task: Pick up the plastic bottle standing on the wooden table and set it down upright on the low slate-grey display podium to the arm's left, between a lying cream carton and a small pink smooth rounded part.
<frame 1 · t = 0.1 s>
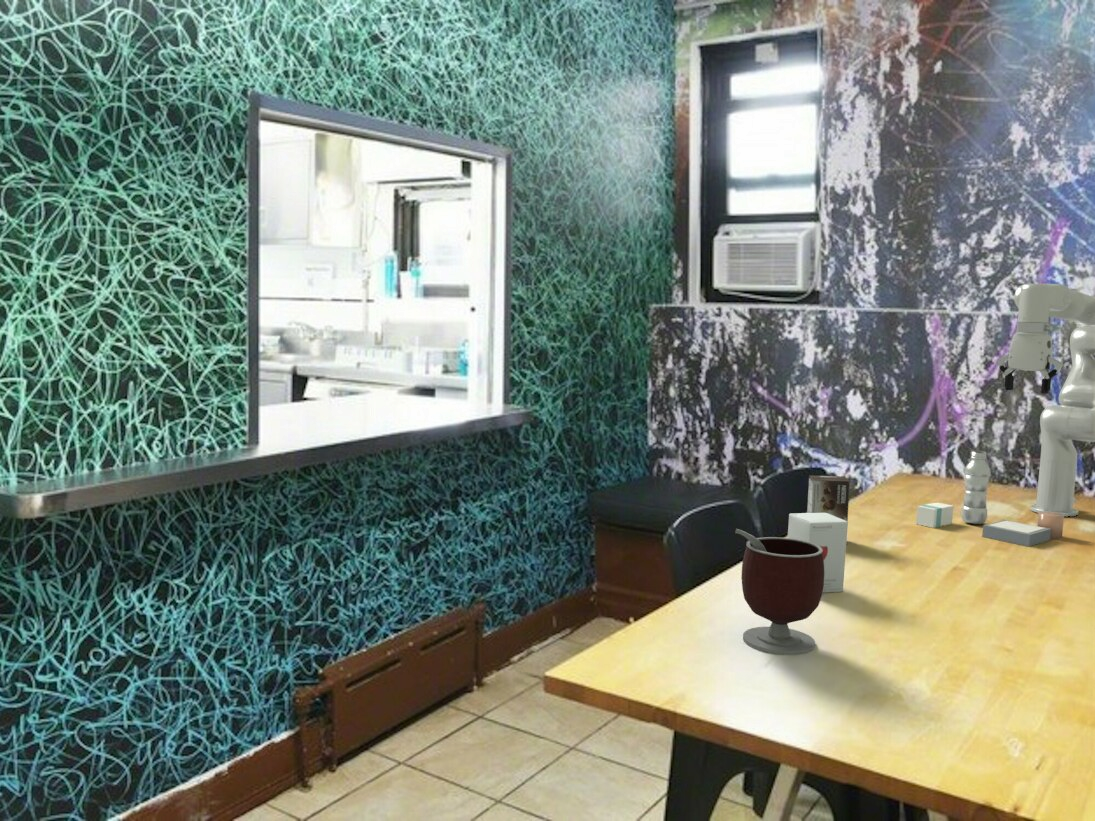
hand: (1026, 391, 267), 37 cm above the table, tool pointing down, fingers open, 9 cm apart
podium: (1016, 538, 252), on the table
pink smooth rounded part: (1049, 536, 255), on the table
coffee box: (825, 541, 243), on the table
lying carton: (934, 523, 266), on the table
supplement box: (813, 587, 203), on the table
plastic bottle: (973, 524, 268), on the table
mate gourd: (773, 643, 170), on the table
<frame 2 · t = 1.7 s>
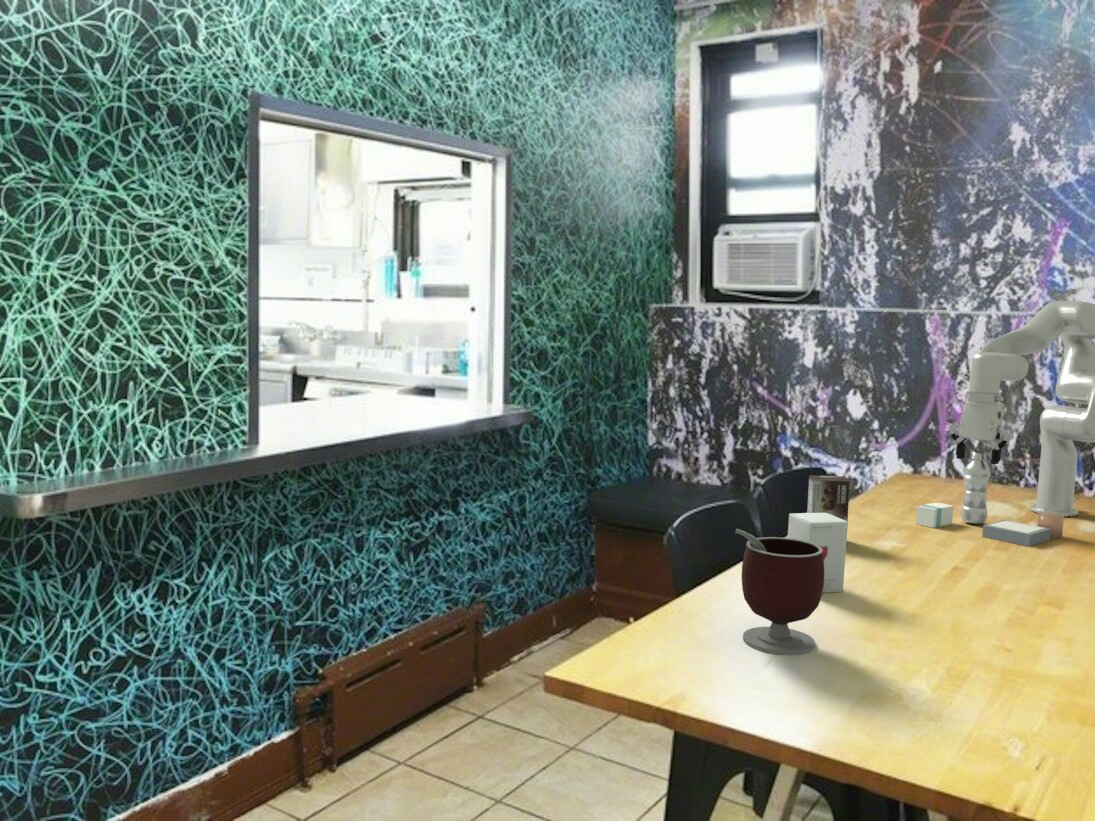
hand: (977, 461, 266), 18 cm above the table, tool pointing down, fingers open, 9 cm apart
nothing on the table moved.
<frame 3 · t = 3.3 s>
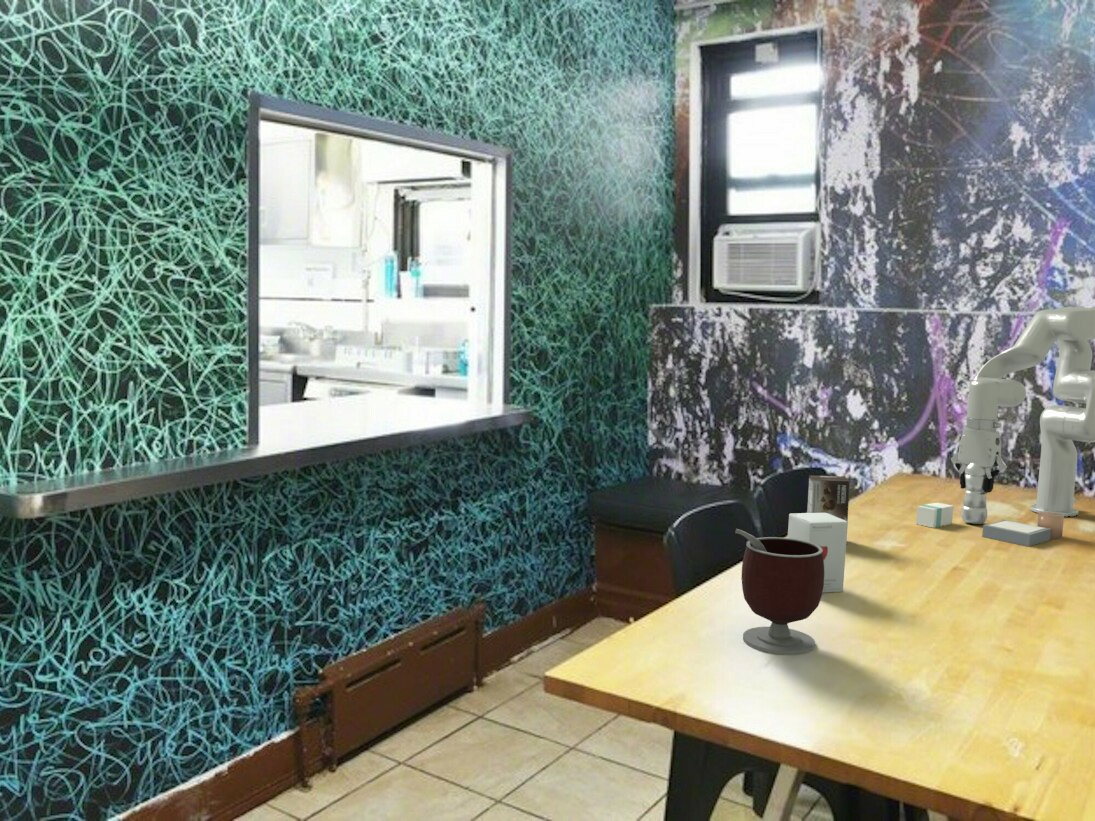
hand: (976, 489, 267), 10 cm above the table, tool pointing down, fingers closed on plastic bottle, 5 cm apart
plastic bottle: (973, 524, 268), on the table, touching gripper
everything else where it was.
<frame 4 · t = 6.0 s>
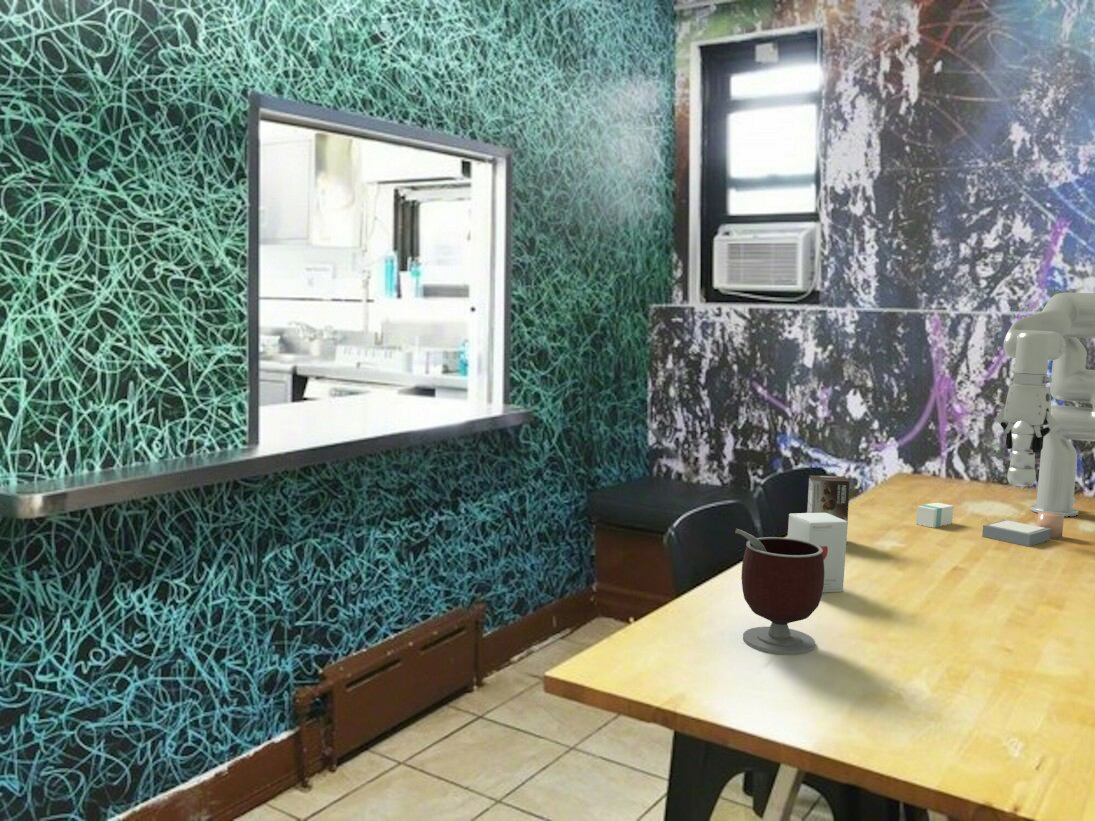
hand: (1023, 449, 250), 23 cm above the table, tool pointing down, fingers closed on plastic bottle, 5 cm apart
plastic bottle: (1020, 487, 251), point 14 cm above the table, touching gripper
everything else where it was.
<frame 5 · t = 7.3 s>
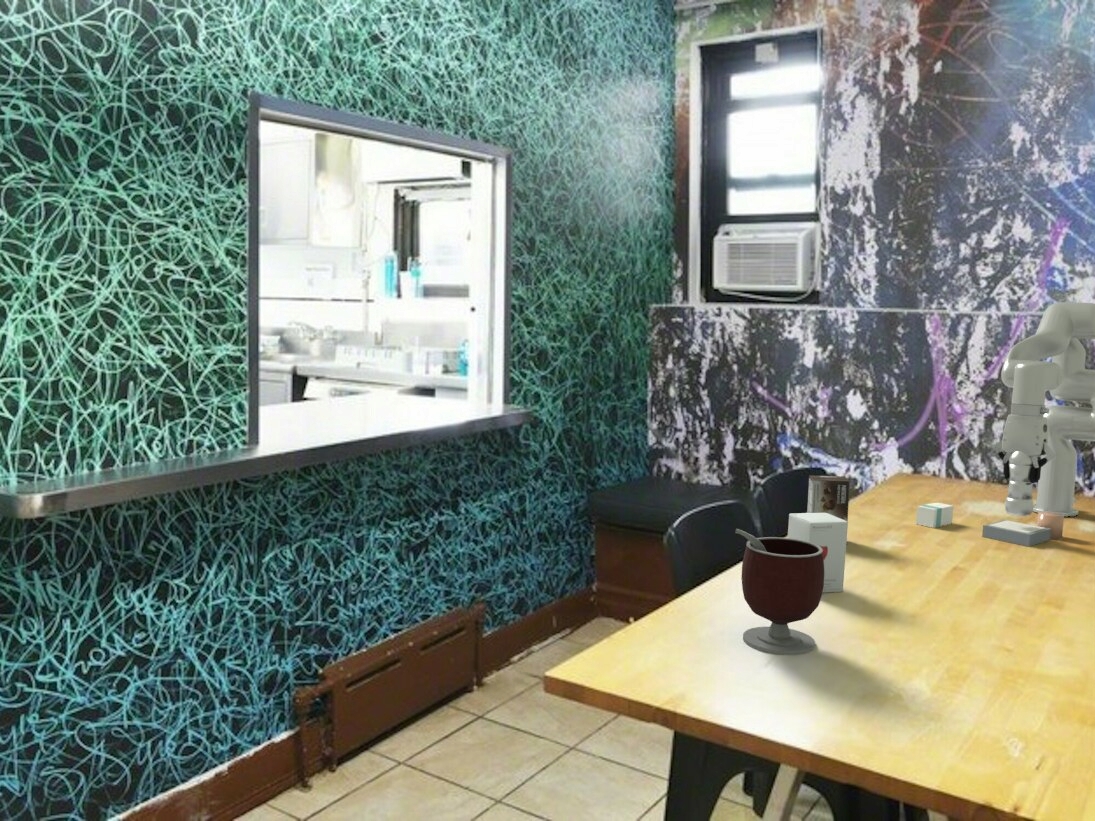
hand: (1021, 479, 250), 15 cm above the table, tool pointing down, fingers closed on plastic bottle, 5 cm apart
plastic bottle: (1017, 516, 251), point 6 cm above the table, touching gripper
everything else where it was.
when the fingers open (14 cm above the table, at t = 8.6 s): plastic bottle stays where it is, resting on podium.
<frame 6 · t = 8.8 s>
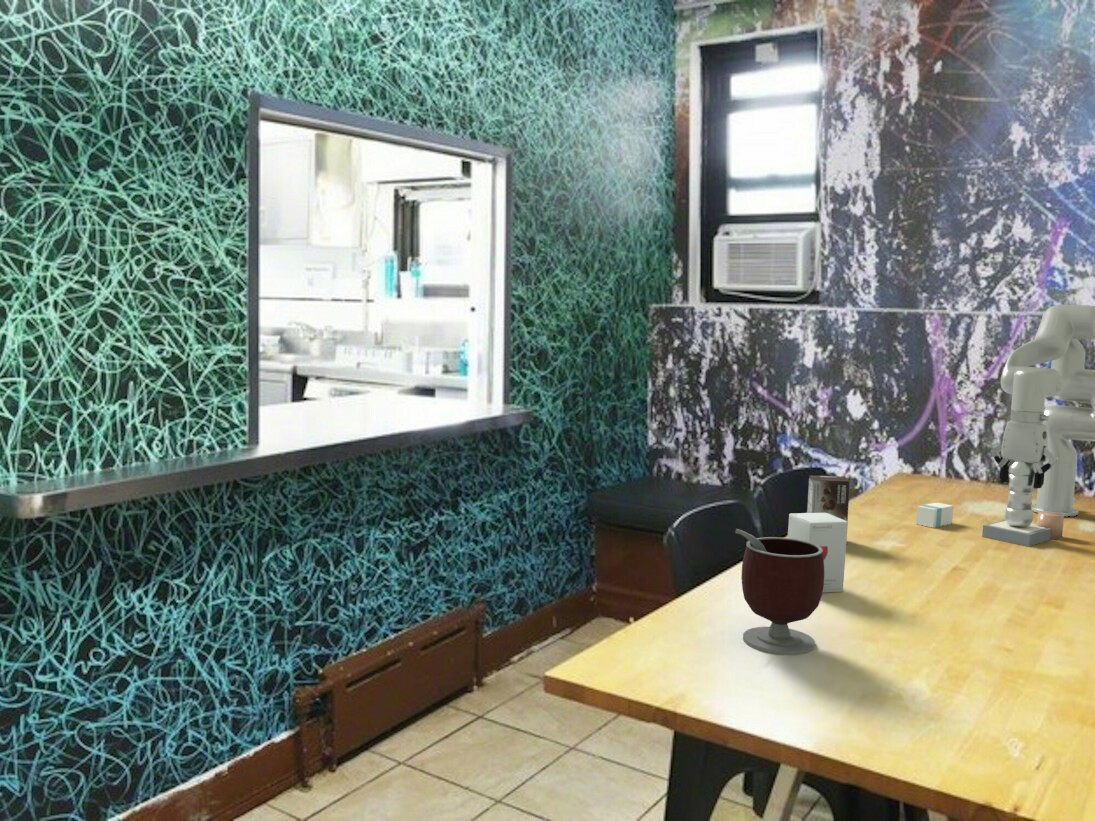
hand: (1020, 484, 250), 14 cm above the table, tool pointing down, fingers open, 8 cm apart
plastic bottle: (1017, 527, 252), point 3 cm above the table, touching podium
everything else where it was.
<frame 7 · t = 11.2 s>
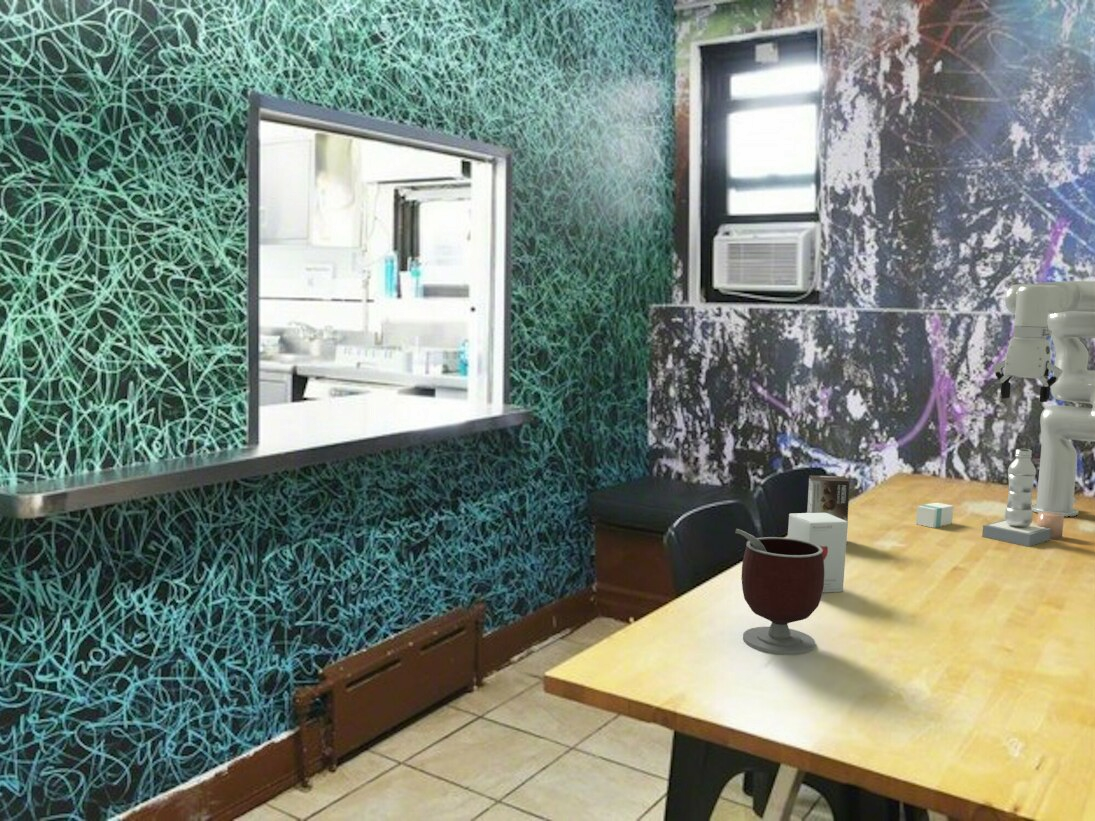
hand: (1024, 399, 252), 36 cm above the table, tool pointing down, fingers open, 9 cm apart
nothing on the table moved.
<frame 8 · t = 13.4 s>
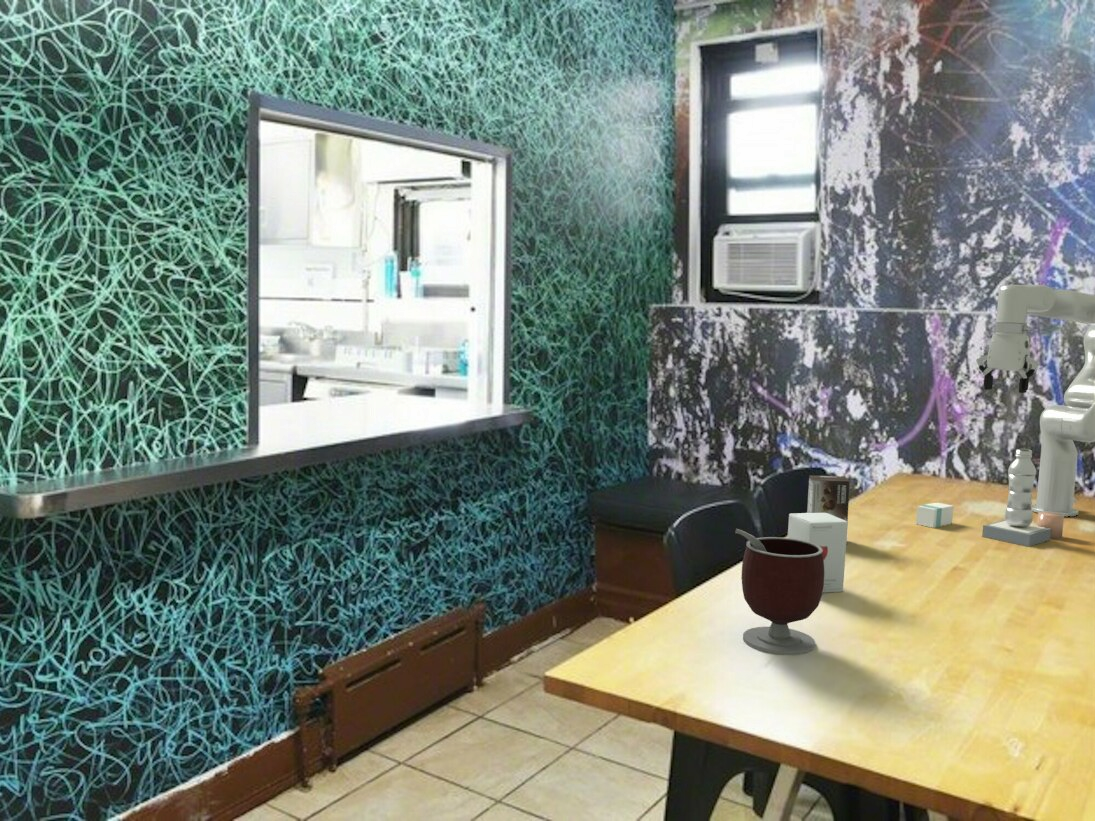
hand: (1005, 391, 271), 36 cm above the table, tool pointing down, fingers open, 9 cm apart
nothing on the table moved.
at the end: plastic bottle inside the target area on the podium (0.3 cm from its centre), point 3.0 cm above the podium's base; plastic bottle tilted 1°; the gripper is holding nothing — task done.
